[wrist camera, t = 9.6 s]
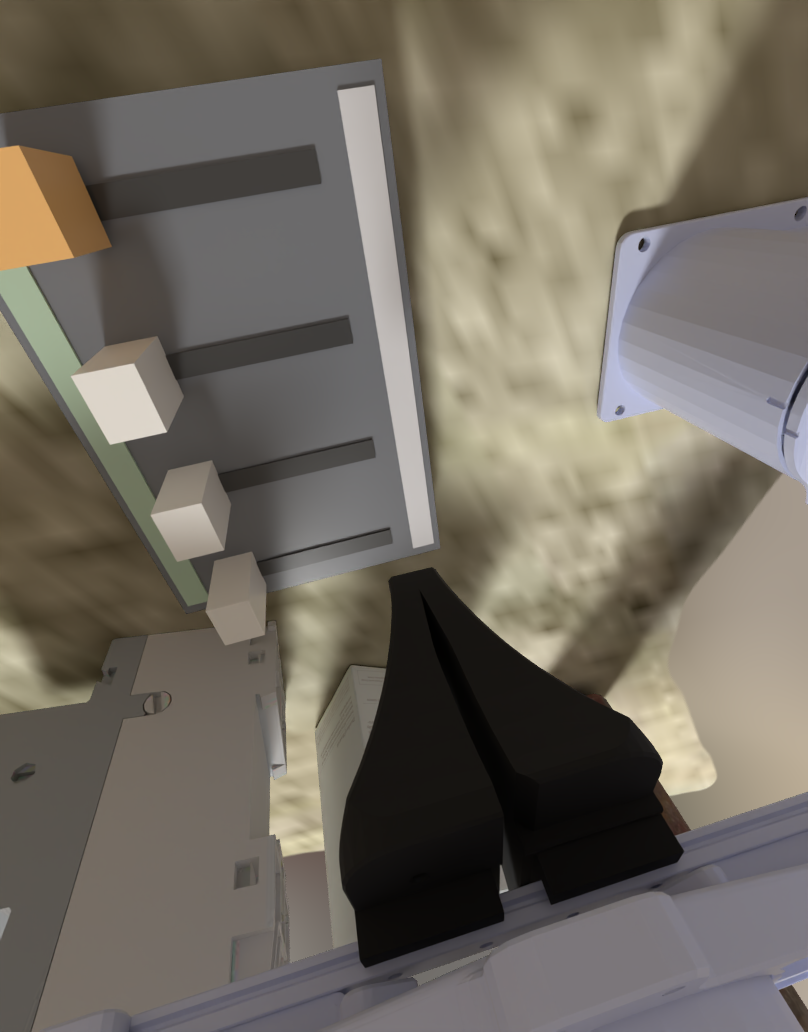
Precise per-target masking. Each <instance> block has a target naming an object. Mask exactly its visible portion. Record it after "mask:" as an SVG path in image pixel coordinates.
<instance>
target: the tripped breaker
mask: <svg viewBox="0 0 808 1032" xmlns="http://www.w3.org/2000/svg"><path fill="white" fill-rule="evenodd" d="M109 247H112V245H111V243H110V241H109V239H108V236H107V234H106V232H105V230H104V227H103V225H102V223H101V221H100V218H99V216H98V214H97V212H96V209H95V207H94V205H93V203H92V200H91V198H90V196H89V194H88V191H87V189H86V187H85V185H84V182H83V180H82V178H81V176H80V173H79V171H78V169H77V167H76V164H75V162H74V160H73V158H72V156H68V155H63V154H58V153H53V152H48V151H44V150H39V149H34V148H29V147H24V146H19V145H18V146H11V147H4V148H0V271H3V270H8V269H14V268H19V267H25V266H31V265H36V264H42V263H48V262H53V261H59V260H65V259H70V258H75V257H79V256H82V255H85V254H89V253H92V252H96V251H99V250H102V249H106V248H109Z"/></svg>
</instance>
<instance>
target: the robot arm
mask: <svg viewBox="0 0 808 1032" xmlns="http://www.w3.org/2000/svg"><path fill="white" fill-rule="evenodd" d="M797 210H798V212H797V215H796V216H795V213H796V211H797ZM642 238H644V244H643V247H642V248H641V249H640V250H638V245H639V242H640V240H641V239H642ZM618 406H620V408H619V410H618V411H617V412H615V410H616V408H617V407H618ZM660 409H666V410H668V411H669V412H671V413H673V414H675V415H677V416H679V417H681V418H682V419H684V420H686V421H688V422H690V423H692V424H693V425H695V426H697V427H699V428H701V429H703V430H705V431H706V432H708V433H710V434H712V435H714V436H716V437H717V438H719V439H721V440H723V441H725V442H727V443H728V444H730V445H732V446H734V447H736V448H738V449H740V450H741V451H743V452H745V453H747V454H749V455H751V456H752V457H754V458H756V459H758V460H760V461H762V462H763V463H765V464H767V465H769V466H771V467H773V468H775V469H776V470H778V471H780V472H782V473H784V474H786V475H787V476H789V477H791V478H793V479H795V480H798V481H799V482H800V483H802V485H804V487H805V489H806V504H808V197H805V198H799V199H794V200H789V201H784V202H779V203H774V204H769V205H763V206H758V207H753V208H748V209H743V210H738V211H733V212H727V213H722V214H717V215H712V216H707V217H702V218H697V219H691V220H686V221H681V222H676V223H671V224H666V225H661V226H655V227H650V228H645V229H640V230H635V231H630V232H627V233H625V234H624V235H623V236H621V237H620V239H619V241H618V242H617V246H616V251H615V260H614V268H613V277H612V286H611V294H610V303H609V312H608V321H607V329H606V338H605V347H604V355H603V364H602V373H601V381H600V390H599V399H598V407H597V416H598V418H599V419H601V420H602V421H604V422H610V421H614V420H618V419H622V418H627V417H631V416H635V415H639V414H643V413H647V412H652V411H656V410H660ZM388 582H389V588H390V593H391V601H392V619H391V636H390V645H389V653H388V661H387V667H386V673H385V678H384V683H383V687H382V692H381V696H380V700H379V704H378V708H377V712H376V716H375V719H374V723H373V726H372V730H371V733H370V736H369V739H368V742H367V745H366V748H365V751H364V754H363V757H362V760H361V762H360V765H359V768H358V770H357V773H356V775H355V778H354V780H353V783H352V785H351V788H350V790H349V793H348V795H347V798H346V804H345V809H344V815H343V820H342V827H341V833H340V843H339V865H340V874H341V883H342V889H343V891H344V893H345V895H346V897H347V898H348V900H349V902H350V903H351V905H352V907H353V909H354V912H355V921H356V931H357V940H358V941H356V942H353V943H350V944H347V945H344V946H341V947H338V948H335V949H332V950H328V951H326V952H323V953H319V954H316V955H314V956H310V957H307V958H305V959H302V960H298V961H295V962H292V963H289V964H286V965H283V966H280V967H277V968H274V969H271V970H268V971H265V972H262V973H259V974H256V975H253V976H250V977H247V978H244V979H241V980H238V981H235V982H232V983H229V984H226V985H223V986H220V987H217V988H214V989H211V990H208V991H205V992H202V993H199V994H196V995H193V996H190V997H187V998H184V999H181V1000H178V1001H174V1002H171V1003H168V1004H165V1005H162V1006H159V1007H156V1008H153V1009H150V1010H147V1011H144V1012H141V1013H138V1014H135V1015H132V1016H130V1015H129V1014H128V1013H127V1012H125V1011H123V1010H121V1009H105V1010H101V1011H97V1012H93V1013H90V1014H87V1015H84V1016H81V1017H78V1018H75V1019H72V1020H69V1021H65V1022H62V1023H59V1024H56V1025H53V1026H50V1027H47V1028H44V1029H41V1030H40V1031H39V1032H804V1030H803V1028H802V1027H801V1025H800V1024H799V1022H798V1020H797V1019H796V1017H795V1016H794V1014H793V1012H792V1011H791V1009H790V1008H789V1006H788V1005H787V1003H786V1001H785V1000H784V998H783V997H782V995H781V993H780V992H779V990H780V989H782V988H785V987H787V986H790V985H792V984H794V983H797V982H800V981H802V980H804V979H807V978H808V792H806V793H803V794H799V795H796V796H794V797H790V798H788V799H784V800H781V801H778V802H776V803H772V804H769V805H767V806H763V807H760V808H758V809H754V810H751V811H748V812H745V813H742V814H739V815H736V816H733V817H730V818H727V819H724V820H721V821H718V822H715V823H712V824H709V825H706V826H703V827H700V828H697V829H694V830H691V831H688V832H685V833H682V834H679V835H676V836H675V835H674V834H673V832H672V830H671V829H670V827H669V826H668V824H667V822H666V821H665V819H664V818H663V816H662V814H661V813H662V812H663V807H662V805H661V803H660V801H659V800H658V798H657V797H656V795H655V794H654V792H653V790H654V788H655V786H656V783H657V781H658V779H659V777H660V774H661V770H662V765H663V761H662V759H661V757H660V755H659V754H658V752H657V751H656V749H655V748H654V746H653V745H652V744H651V742H650V741H649V740H648V739H647V737H646V736H645V735H644V734H643V733H642V731H641V730H640V729H639V728H638V727H637V726H636V725H635V723H634V722H633V721H632V720H631V719H630V718H629V717H627V716H625V715H623V714H621V713H619V712H617V711H614V710H612V709H610V708H608V707H606V706H604V705H602V704H600V703H599V702H597V701H595V700H593V699H591V698H589V697H587V696H586V695H584V694H582V693H580V692H578V691H577V690H575V689H573V688H571V687H570V686H568V685H567V684H565V683H563V682H562V681H560V680H559V679H557V678H555V677H554V676H552V675H551V674H549V673H548V672H546V671H544V670H543V669H541V668H540V667H538V666H537V665H535V664H534V663H533V662H531V661H530V660H528V659H527V658H526V657H524V656H523V655H522V654H520V653H519V652H518V651H516V650H515V649H514V648H512V647H511V646H510V645H509V644H507V643H506V642H505V641H504V640H503V639H501V638H500V637H499V636H498V635H497V634H496V633H494V632H493V631H492V630H491V629H490V628H489V627H488V626H487V625H485V624H484V623H483V622H482V621H481V620H480V619H479V618H478V617H477V616H476V615H475V614H474V613H473V612H472V611H471V610H470V609H469V608H468V607H467V606H466V605H465V604H464V603H463V602H462V601H461V600H460V599H459V598H458V596H457V595H456V594H455V593H454V592H453V591H452V590H451V589H450V587H449V586H448V585H447V584H446V583H445V581H444V580H443V579H442V578H441V576H440V575H439V574H438V572H437V571H436V569H434V568H432V567H431V568H427V569H423V570H418V571H414V572H410V573H406V574H402V575H398V576H394V577H391V578H390V579H389V581H388ZM500 865H501V866H502V869H503V873H504V876H505V880H506V883H507V887H508V890H509V891H507V892H504V893H501V894H500ZM498 946H499V947H498ZM495 947H497V948H495ZM492 948H495V949H494V950H492V951H491V953H490V954H489V955H487V956H485V957H483V958H480V959H478V960H476V961H474V962H471V963H469V964H467V965H465V966H463V967H460V968H458V969H456V970H453V971H451V972H449V973H446V974H444V975H442V976H440V977H438V978H435V979H433V980H431V981H428V982H426V983H424V984H422V985H419V986H418V984H417V980H415V979H414V978H413V977H411V976H413V975H416V974H419V973H422V972H425V971H428V970H431V969H434V968H437V967H440V966H442V965H445V964H448V963H451V962H454V961H457V960H460V959H463V958H466V957H469V956H471V955H474V954H477V953H480V952H483V951H486V950H489V949H492ZM408 977H411V978H408Z"/></svg>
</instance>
